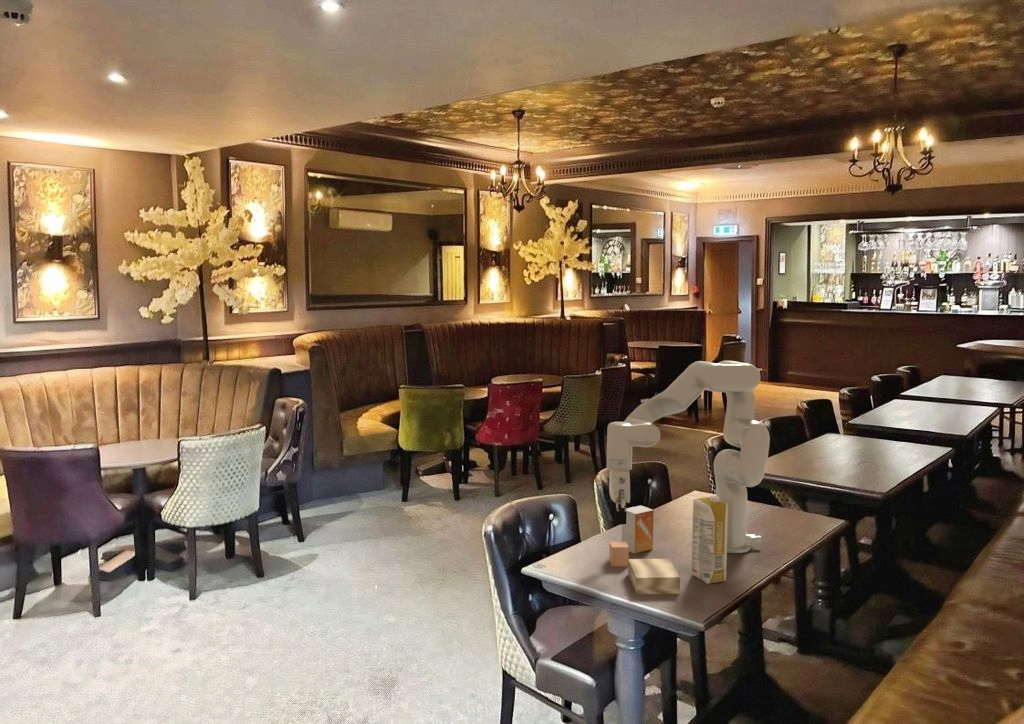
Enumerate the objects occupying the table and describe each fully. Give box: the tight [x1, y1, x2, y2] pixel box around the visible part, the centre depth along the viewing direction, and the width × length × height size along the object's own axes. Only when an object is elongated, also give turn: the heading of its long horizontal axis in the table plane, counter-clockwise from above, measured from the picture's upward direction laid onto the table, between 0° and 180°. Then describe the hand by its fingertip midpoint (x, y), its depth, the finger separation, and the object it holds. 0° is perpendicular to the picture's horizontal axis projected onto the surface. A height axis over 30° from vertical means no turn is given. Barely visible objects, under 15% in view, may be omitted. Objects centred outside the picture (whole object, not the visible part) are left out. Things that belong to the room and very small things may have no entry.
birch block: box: [627, 558, 681, 595], centre depth 215 cm, size 12×14×5 cm
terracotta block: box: [608, 541, 630, 567], centre depth 230 cm, size 5×5×6 cm
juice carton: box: [691, 495, 728, 585], centre depth 217 cm, size 9×8×24 cm
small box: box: [621, 504, 655, 555], centre depth 242 cm, size 8×6×13 cm
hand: (617, 519), depth 229 cm, fingers open, 9 cm apart
